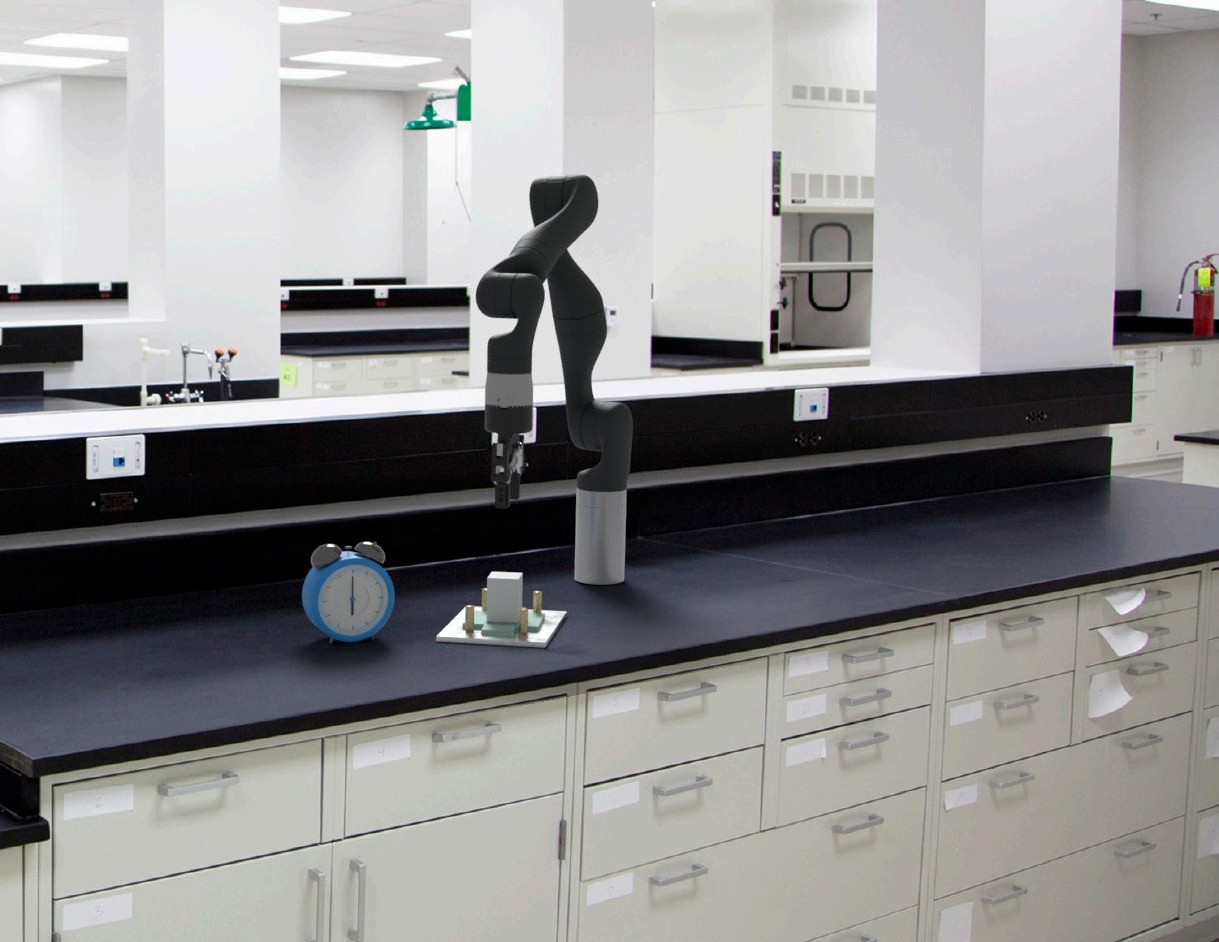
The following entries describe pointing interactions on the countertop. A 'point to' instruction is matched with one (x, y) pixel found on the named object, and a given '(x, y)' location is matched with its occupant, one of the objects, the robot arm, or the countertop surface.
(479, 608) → the chassis plate
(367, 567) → the alarm clock
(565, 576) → the countertop surface
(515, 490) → the robot arm
